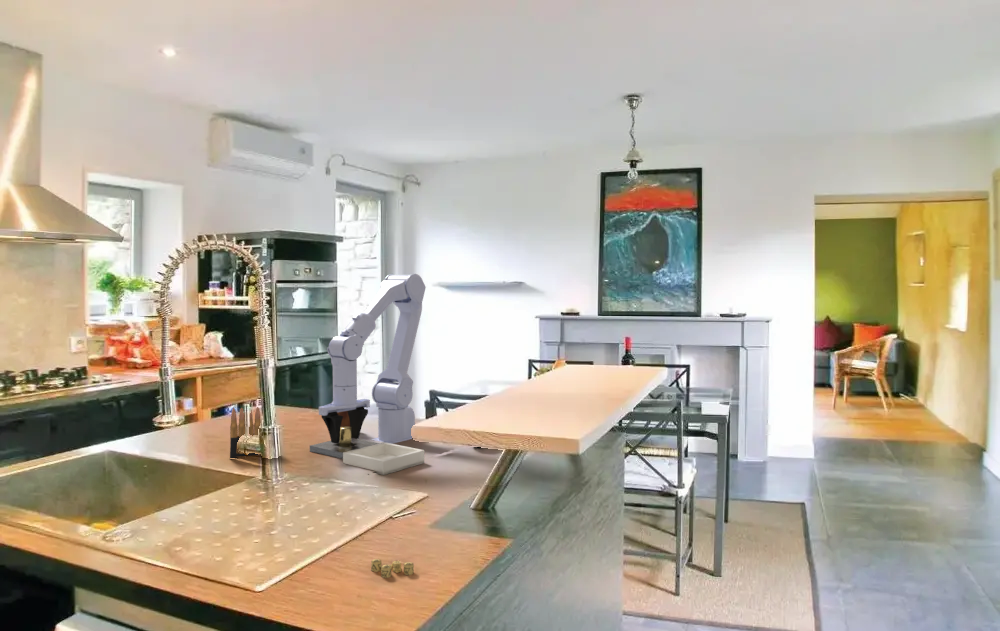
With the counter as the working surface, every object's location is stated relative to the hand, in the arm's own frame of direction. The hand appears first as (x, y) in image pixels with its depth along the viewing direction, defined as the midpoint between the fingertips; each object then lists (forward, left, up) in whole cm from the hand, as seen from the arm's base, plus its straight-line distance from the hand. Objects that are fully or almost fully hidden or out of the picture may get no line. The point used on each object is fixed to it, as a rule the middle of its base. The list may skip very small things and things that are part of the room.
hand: (345, 440), depth 174 cm
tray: (+2, +16, -3) cm, 16 cm away
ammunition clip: (+16, -14, -3) cm, 22 cm away
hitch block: (0, 0, -3) cm, 3 cm away
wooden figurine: (-14, -16, -3) cm, 21 cm away
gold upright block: (0, 0, -2) cm, 2 cm away
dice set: (+44, +60, -4) cm, 74 cm away
